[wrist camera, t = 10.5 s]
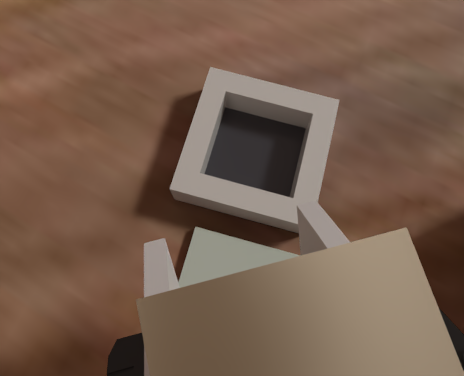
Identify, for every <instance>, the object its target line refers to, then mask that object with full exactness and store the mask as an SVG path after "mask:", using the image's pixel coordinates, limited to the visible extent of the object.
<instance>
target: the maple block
mask: <svg viewBox="0 0 464 376" xmlns="http://www.w3.org/2000/svg"><path fill="white" fill-rule="evenodd" d="M136 303H137V308H138V314H139V319H140V325H141V330H142V335H143V341H144V346H145V352H146V357H147V363H148V368H149V374H150V376H464V371H463V368H462V366H461V363H460V361H459V358H458V356H457V353H456V351H455V348H454V346H453V343H452V341H451V338H450V336H449V333H448V331H447V328H446V325H445V323H444V320H443V318H442V315H441V313H440V310H439V308H438V305H437V303H436V300H435V298H434V295H433V293H432V290H431V288H430V285H429V283H428V280H427V278H426V275H425V272H424V270H423V267H422V265H421V262H420V260H419V257H418V255H417V252H416V250H415V247H414V245H413V242H412V240H411V237H410V235H409V232H408V230H407V227H406V228H403V229H399V230H395V231H391V232H388V233H384V234H380V235H376V236H373V237H369V238H365V239H361V240H358V241H354V242H350V243H346V244H343V245H339V246H335V247H331V248H328V249H324V250H320V251H316V252H313V253H309V254H305V255H301V256H298V257H294V258H290V259H286V260H283V261H279V262H275V263H271V264H268V265H264V266H260V267H256V268H253V269H249V270H245V271H241V272H238V273H234V274H230V275H226V276H223V277H219V278H215V279H211V280H208V281H204V282H200V283H196V284H193V285H189V286H185V287H181V288H178V289H174V290H170V291H166V292H163V293H159V294H155V295H151V296H148V297H144V298H140V299H136Z"/></svg>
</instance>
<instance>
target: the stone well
mask: <svg viewBox="0 0 464 376" xmlns="http://www.w3.org/2000/svg"><path fill="white" fill-rule="evenodd" d="M338 105H339V100H337V99H333V98H329V97H325V96H321V95H318V94H314V93H310V92H306V91H302V90H298V89H294V88H290V87H286V86H282V85H279V84H275V83H271V82H267V81H263V80H259V79H255V78H251V77H247V76H243V75H240V74H236V73H232V72H228V71H224V70H220V69H216V68H212V67H210V70H209V73H208V76H207V79H206V82H205V85H204V88H203V91H202V94H201V97H200V100H199V102H198V105H197V108H196V111H195V114H194V117H193V120H192V123H191V126H190V129H189V132H188V135H187V138H186V141H185V144H184V147H183V150H182V153H181V156H180V159H179V162H178V165H177V168H176V171H175V174H174V177H173V180H172V183H171V186H170V191H171V193H172V196H173V198H174V199H175V200H179V201H182V202H186V203H190V204H193V205H197V206H200V207H204V208H208V209H211V210H215V211H219V212H222V213H226V214H230V215H233V216H237V217H241V218H244V219H248V220H251V221H255V222H259V223H262V224H266V225H270V226H273V227H277V228H281V229H284V230H288V231H291V232H295V233H299V228H298V216H297V205H299V204H303V203H307V202H311V201H315V200H316V201H317V203H318V198H319V193H320V189H321V184H322V179H323V175H324V170H325V165H326V161H327V156H328V151H329V147H330V142H331V137H332V133H333V128H334V123H335V119H336V114H337V109H338Z"/></svg>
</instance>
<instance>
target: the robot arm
mask: <svg viewBox="0 0 464 376" xmlns="http://www.w3.org/2000/svg"><path fill="white" fill-rule="evenodd" d="M297 216H298V228H299V240H300V251H301V255H305V254H309V253H313V252H316V251H320V250H324V249H328V248H331V247H335V246H339V245H343V244H346V243H350V241H349V240H348V239H347V238H346V237H345V235H344V234H343V233H342V232H341V230H340V229H339V228H338V227H337V226H336V224H335V223H334V222H333V221H332V220H331V218H330V217H329V216H328V215H327V213H326V212H325V211H324V210H323V209H322V207H321V206H320V205H319V204H318V203H317V201H316V200H315V201H311V202H307V203H303V204H299V205H297ZM178 288H180V287H179V283H178V280H177V277H176V273H175V270H174V267H173V264H172V260H171V257H170V254H169V250H168V247H167V244H166V241H165V238H163V239H159V240H155V241H151V242H147V243H144V297H148V296H151V295H155V294H159V293H163V292H166V291H170V290H174V289H178ZM439 310H440V309H439ZM440 313H441V315H442V318H443V320H444V323H445V325H446V328H447V331H448V333H449V336H450V338H451V341H452V343H453V346H454V348H455V351H456V353H457V356H458V358H459V361H460V363H461V366H462V368H463V371H464V334H463V333H462V332H461V331H460V330H459V329H458V328H457V327H456V326H455V325H454V324H453V323H452V322H451V320H450V319H449V318H448V317H447V316H446V315H445V314H444V313H443V312H442V311H441V310H440ZM107 376H150V374H149V368H148V363H147V357H146V352H145V346H144V341H143V335H142V333H139V334H135V335H132V336H128V337H124V338H121V339H117V341H116V343H115V345H114V347H113V349H112V350H111V352H110V354H109V357H108V367H107Z"/></svg>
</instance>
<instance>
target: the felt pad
mask: <svg viewBox="0 0 464 376" xmlns="http://www.w3.org/2000/svg"><path fill="white" fill-rule="evenodd" d="M298 256H300V255H296V254H293V253H289V252H285V251H282V250H278V249H275V248H271V247H267V246H264V245H260V244H257V243H253V242H249V241H246V240H242V239H239V238H235V237H231V236H228V235H224V234H221V233H217V232H213V231H210V230H206V229H203V228H199V227H195V230H194V233H193V236H192V240H191V243H190V246H189V249H188V253H187V256H186V259H185V262H184V266H183V269H182V272H181V276H180V279H179V282H178V283H179V287H180V288H181V287H185V286H189V285H193V284H196V283H200V282H204V281H208V280H211V279H215V278H219V277H223V276H226V275H230V274H234V273H238V272H241V271H245V270H249V269H253V268H256V267H260V266H264V265H268V264H271V263H275V262H279V261H283V260H286V259H290V258H294V257H298Z"/></svg>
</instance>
